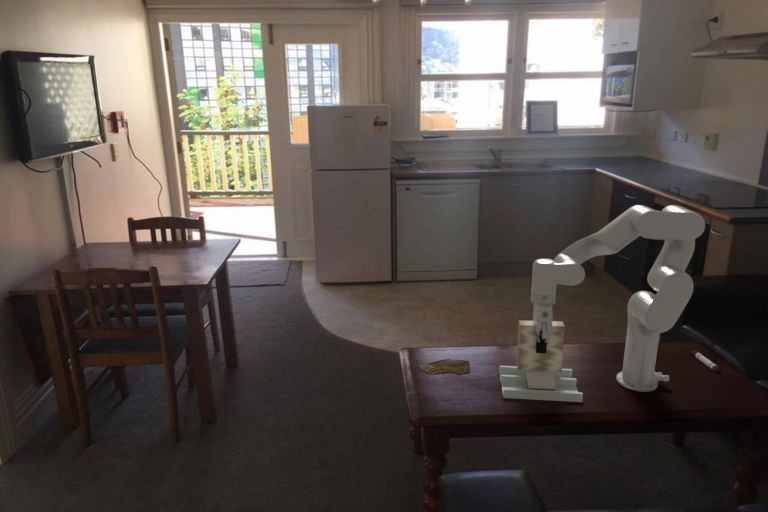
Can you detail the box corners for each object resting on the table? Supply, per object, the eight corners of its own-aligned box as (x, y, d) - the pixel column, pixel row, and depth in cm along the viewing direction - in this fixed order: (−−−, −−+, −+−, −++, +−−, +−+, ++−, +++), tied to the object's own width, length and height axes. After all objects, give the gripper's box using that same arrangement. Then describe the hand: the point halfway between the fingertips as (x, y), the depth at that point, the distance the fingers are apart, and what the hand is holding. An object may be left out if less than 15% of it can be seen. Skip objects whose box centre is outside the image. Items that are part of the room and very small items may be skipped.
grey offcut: (551, 380, 179) (552, 373, 178) (555, 389, 173) (555, 382, 173) (526, 378, 180) (527, 371, 179) (529, 388, 174) (529, 380, 174)
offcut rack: (570, 377, 188) (571, 368, 187) (582, 404, 171) (583, 394, 170) (498, 374, 190) (499, 364, 189) (503, 400, 174) (503, 390, 173)
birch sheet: (559, 365, 185) (562, 321, 180) (561, 371, 181) (564, 326, 176) (516, 364, 186) (518, 320, 182) (517, 369, 182) (520, 325, 178)
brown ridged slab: (419, 375, 190) (419, 373, 190) (417, 361, 201) (417, 358, 201) (494, 374, 191) (494, 372, 190) (488, 360, 201) (488, 357, 201)
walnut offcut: (551, 387, 180) (551, 380, 179) (554, 396, 174) (555, 389, 173) (526, 385, 181) (526, 378, 180) (528, 395, 175) (529, 388, 174)
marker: (720, 372, 191) (720, 367, 191) (714, 372, 191) (715, 367, 191) (693, 352, 206) (694, 348, 205) (688, 353, 206) (689, 348, 205)
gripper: (560, 307, 168) (556, 361, 173) (550, 289, 184) (547, 339, 189) (534, 306, 169) (531, 360, 174) (527, 288, 185) (525, 338, 190)
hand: (539, 349), depth 182 cm, fingers closed on birch sheet, 4 cm apart
